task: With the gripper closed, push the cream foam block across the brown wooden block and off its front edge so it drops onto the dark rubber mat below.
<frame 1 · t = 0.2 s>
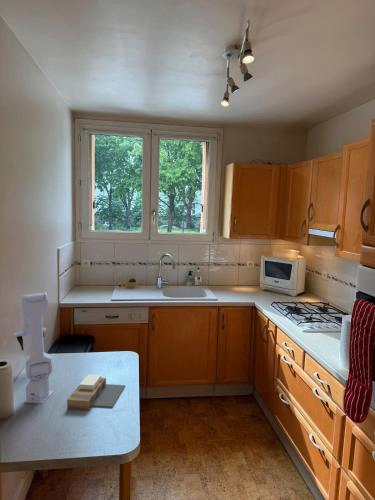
hand: (30, 347, 171), 10 cm above the table, tool pointing down, fingers open, 7 cm apart
mat: (109, 395, 145), on the table
cream foam block: (90, 381, 147), point 5 cm above the table, touching brown wooden block
brown wooden block: (87, 397, 144), on the table
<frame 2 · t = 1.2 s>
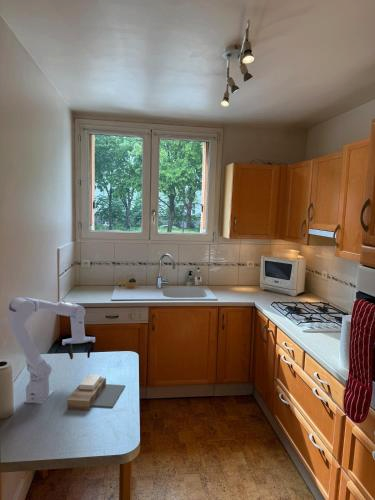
hand: (80, 357, 159), 10 cm above the table, tool pointing down, fingers open, 7 cm apart
nothing on the table moved.
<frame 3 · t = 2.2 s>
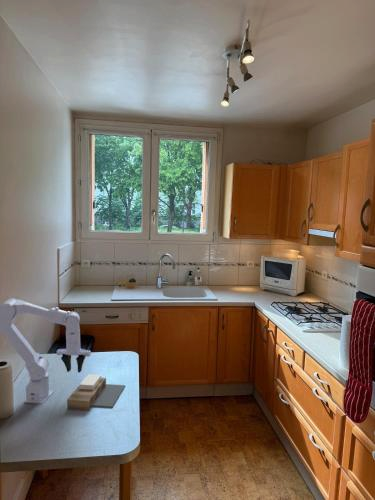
hand: (74, 371, 148), 9 cm above the table, tool pointing down, fingers open, 4 cm apart
nothing on the table moved.
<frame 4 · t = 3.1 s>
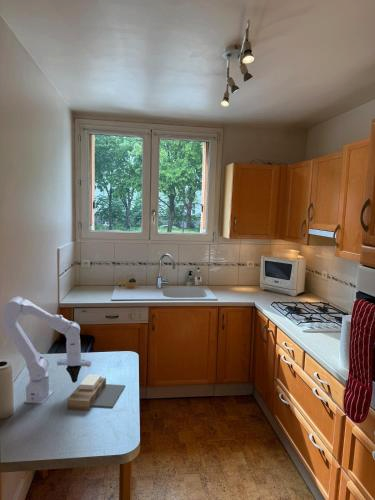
hand: (74, 381, 148), 5 cm above the table, tool pointing down, fingers closed
nothing on the table moved.
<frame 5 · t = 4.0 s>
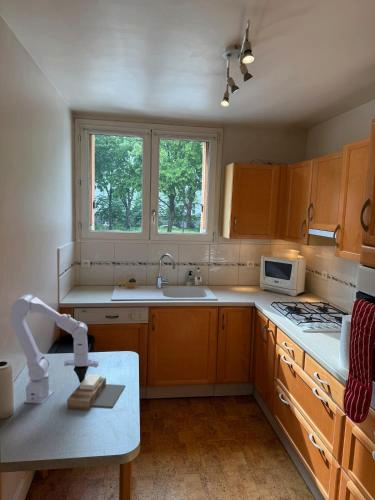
hand: (82, 381, 148), 5 cm above the table, tool pointing down, fingers closed
cream foam block: (90, 381, 147), point 5 cm above the table, touching brown wooden block, gripper
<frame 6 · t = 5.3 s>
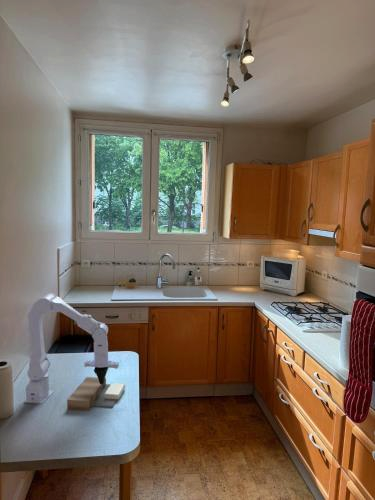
hand: (102, 383, 147), 5 cm above the table, tool pointing down, fingers closed
cream foam block: (115, 390, 146), point 2 cm above the table, tilted 180°, touching mat
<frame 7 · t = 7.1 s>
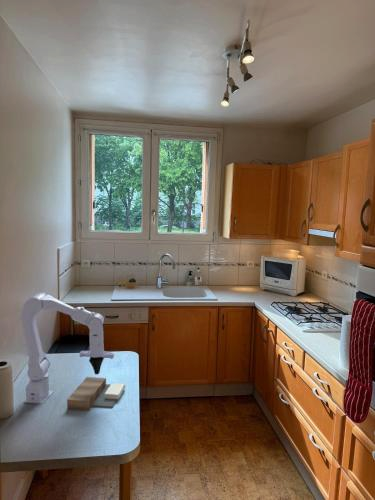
hand: (97, 373, 146), 9 cm above the table, tool pointing down, fingers closed
nothing on the table moved.
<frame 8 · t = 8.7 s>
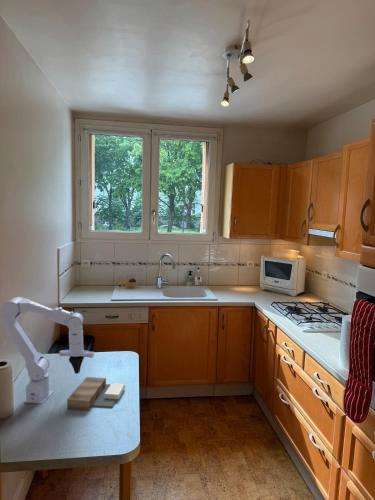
hand: (77, 372, 147), 9 cm above the table, tool pointing down, fingers closed
nothing on the table moved.
at the end: cream foam block inside the target area (2.3 cm from its centre), point 1.6 cm above the table; cream foam block point 1.6 cm above the table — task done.
